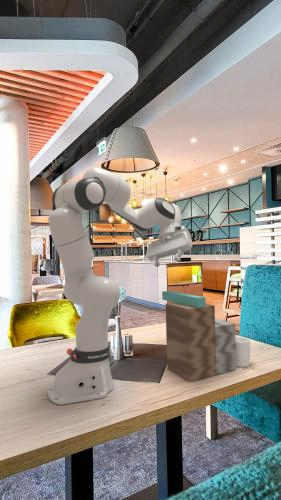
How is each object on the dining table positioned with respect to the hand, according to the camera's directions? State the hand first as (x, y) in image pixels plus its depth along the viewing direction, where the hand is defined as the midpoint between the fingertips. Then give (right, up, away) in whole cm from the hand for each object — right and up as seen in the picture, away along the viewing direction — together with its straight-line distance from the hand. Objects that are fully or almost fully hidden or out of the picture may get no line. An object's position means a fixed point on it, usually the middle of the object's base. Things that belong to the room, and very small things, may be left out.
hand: (166, 263), depth 128 cm
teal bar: (+6, -16, 0) cm, 17 cm away
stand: (+13, -42, -2) cm, 44 cm away
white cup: (+30, -41, +3) cm, 51 cm away
